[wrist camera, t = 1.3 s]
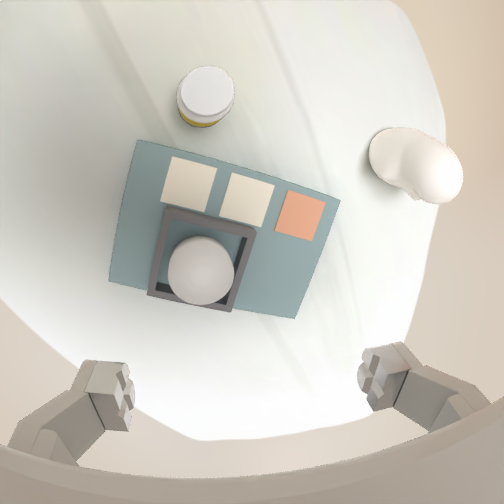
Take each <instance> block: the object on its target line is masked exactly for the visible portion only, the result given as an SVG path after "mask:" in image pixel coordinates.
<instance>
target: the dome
mask: <svg viewBox="0 0 504 504" xmlns="http://www.w3.org/2000/svg"><path fill="white" fill-rule="evenodd" d="M233 280H234V267H233V264H232V261H231V259H230V256H229V254H228V252H227V250H226V248H225V247H224V246H223V245H222V244H221V243H220V242H219V241H217V240H215V239H213V238H211V237H207V236H194V237H190V238H187V239H185V240H183V241H182V242H180V243H179V244H178V245H177V246H176V247H175V249H174V250H173V252H172V254H171V256H170V261H169V268H168V281H169V284H170V287H171V289H172V290H173V292H174V293H175V294H176V295H177V296H178V297H179V298H180V299H182V300H183V301H185V302H188V303H190V304H195V305H206V304H211V303H214V302H216V301H218V300H220V299H221V298H222V297H224V296H225V295H226V294H227V293H228V291H229V290H230V288H231V286H232V284H233Z"/></svg>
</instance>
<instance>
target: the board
mask: <svg viewBox="0 0 504 504" xmlns="http://www.w3.org/2000/svg"><path fill="white" fill-rule="evenodd" d="M340 201H341V200H338V199H336V198H333V197H330V196H328V195H325V194H322V193H319V192H316V191H314V190H311V189H308V188H305V187H302V186H299V185H296V184H293V183H290V182H287V181H284V180H281V179H278V178H275V177H272V176H269V175H266V174H262V173H259V172H256V171H253V170H250V169H246V168H243V167H240V166H236V165H233V164H230V163H226V162H223V161H219V160H216V159H212V158H208V157H205V156H201V155H197V154H194V153H190V152H186V151H182V150H179V149H175V148H171V147H167V146H163V145H158V144H154V143H150V142H146V141H142V140H138V141H137V144H136V148H135V151H134V155H133V159H132V162H131V166H130V170H129V174H128V178H127V183H126V187H125V191H124V196H123V200H122V205H121V210H120V214H119V219H118V225H117V230H116V235H115V241H114V247H113V253H112V260H111V266H110V273H109V281H110V282H114V283H118V284H122V285H126V286H130V287H135V288H139V289H143V290H148V291H147V295H148V296H153V297H157V298H162V299H166V300H171V301H176V302H180V303H185V304H190V303H188V302H185V301H183V300H182V299H180V298H179V297H178V296H177V295H176V294H175V293H174V292H173V290H172V289H171V287H170V284H169V281H168V268H169V261H170V256H171V254H172V252H173V250H174V249H175V247H176V246H177V245H178V244H179V243H180V242H182V241H183V240H185V239H187V238H190V237H194V236H207V237H211V238H213V239H215V240H217V241H219V242H220V243H221V244H222V245H223V246H224V247H225V248H226V250H227V252H228V254H229V256H230V259H231V261H232V264H233V267H234V280H233V284H232V286H231V288H230V290H229V291H228V293H227V294H226V295H225V296H224V297H222V298H221V299H220V300H218V301H216V302H214V303H211V304H206V305H195V304H190V305H195V306H200V307H205V308H210V309H215V310H221V311H226V312H231V311H232V308H235V309H240V310H245V311H251V312H257V313H262V314H268V315H274V316H280V317H286V318H293V319H295V317H296V314H297V312H298V310H299V307H300V305H301V302H302V300H303V298H304V295H305V293H306V290H307V288H308V285H309V283H310V280H311V278H312V275H313V273H314V270H315V268H316V265H317V263H318V260H319V258H320V255H321V252H322V250H323V247H324V245H325V242H326V239H327V237H328V234H329V231H330V228H331V226H332V223H333V220H334V217H335V215H336V212H337V209H338V206H339V204H340Z"/></svg>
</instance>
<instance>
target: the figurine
mask: <svg viewBox="0 0 504 504" xmlns="http://www.w3.org/2000/svg"><path fill="white" fill-rule="evenodd" d="M369 161H370V164H371V166H372V168H373V170H374V171H375V173H376V174H377V176H378V177H379V178H380V179H382V180H383V181H385V182H387V183H388V184H391V185H393V186H396V187H399V188H401V189H403V190H404V191H405V192H406V193H407V194H408V195H409V196H410V197H411V198H412V199H414V200H419V199H421V200H423V201H425V202H428V203H432V204H444V203H447V202H449V201H451V200H452V199H454V198H455V196H457V194H458V193H459V191H460V189H461V187H462V183H463V171H462V167H461V164H460V161H459V159H458V157H457V156H456V154H455V153H454V152H453V151H452V150H451V149H450V148H449V147H448V146H447V145H445V144H444V143H443V142H441V141H440V140H438V139H436V138H434V137H431V136H430V135H428V134H426V133H424V132H422V131H420V130H416V129H412V128H404V127H399V128H390V129H386V130H383V131H381V132H379V133H378V134H377V135H375V137H374V138H373V139H372V141H371V143H370V147H369Z"/></svg>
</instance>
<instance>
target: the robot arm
mask: <svg viewBox="0 0 504 504" xmlns="http://www.w3.org/2000/svg"><path fill="white" fill-rule="evenodd" d="M362 359H363V361H364V362H363V363H362V364H361V365H360V366H359V369H358V373H357V380H358V384H359V387H360V389H361V391H363V392H365V393H367V394H368V395H367V401H368V403H369V405H370V406H371V408H372V410H373V411H378V410H382V409H386V408H390V407H393V408H394V409H396V410H398V411H399V412H400V413H402V414H404V415H405V416H407V417H408V418H410V419H411V420H413V421H414V422H416V423H418V424H419V425H420V426H422V427H424V428H425V429H426V430H428V431H429V432H428V433H427V434H426V435H423V436H421V437H418V438H415V439H413V440H410V441H407V442H404V443H402V444H399V445H396V446H393V447H390V448H387V449H383V450H380V451H377V452H374V453H370V454H367V455H363V456H359V457H356V458H352V459H348V460H344V461H340V462H335V463H331V464H326V465H321V466H316V467H311V468H306V469H301V470H293V471H287V472H280V473H272V474H263V475H252V476H240V477H222V478H171V477H170V478H169V477H153V476H140V475H131V474H121V473H114V472H107V471H100V470H95V469H89V468H84V467H79V465H78V464H77V462H76V461H77V460H78V459H79V458H80V457H81V456H82V455H83V454H84V453H85V451H86V450H87V449H89V448H90V446H91V445H92V444H93V443H94V442H95V441H96V440H97V439H98V438H99V437H100V436H101V435H102V434H103V433H104V432H105V430H114V431H129V427H130V422H131V414H130V410H131V409H132V408H133V407H134V403H135V390H134V385H133V382H132V381H131V380H130V379H129V378H128V377H129V373H130V371H129V368H128V365H127V364H126V363H121V362H108V361H94V360H85V361H83V363H82V365H81V367H80V369H79V372H78V374H77V376H76V378H75V381H74V383H73V385H72V387H71V389H70V391H68V390H66V391H64V392H63V393H61V394H60V395H58V396H57V397H55V398H54V399H52V400H51V401H49V402H48V403H46V404H45V405H43V406H42V407H40V408H39V409H37V410H35V411H34V412H33V413H31V414H29V415H28V416H26V417H25V418H23V419H22V420H20V421H19V422H18V425H17V427H16V429H15V431H14V433H13V435H12V437H11V440H10V442H9V444H8V446H4V445H1V444H0V504H504V397H502V398H501V399H499V400H497V401H495V402H493V403H492V404H491V403H490V402H489V401H488V399H487V398H486V397H485V396H484V395H483V394H482V393H481V392H480V391H479V389H478V388H477V387H476V386H475V385H473V384H470V383H468V382H465V381H463V380H460V379H458V378H456V377H453V376H450V375H448V374H446V373H443V372H441V371H439V370H436V369H434V368H431V367H429V366H427V365H426V366H423V365H422V364H421V363H420V362H419V361H418V359H417V358H416V357H415V356H414V355H413V354H412V352H411V351H410V350H409V349H408V348H407V347H406V345H405V344H404V343H402V342H396V343H392V344H389V345H383V346H377V347H372V348H366V349H365V350H364V351H363V354H362Z"/></svg>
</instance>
